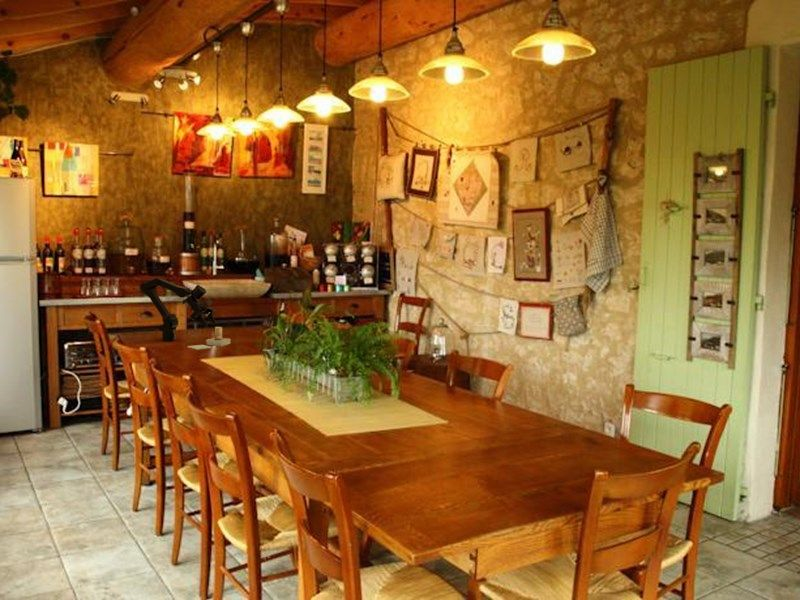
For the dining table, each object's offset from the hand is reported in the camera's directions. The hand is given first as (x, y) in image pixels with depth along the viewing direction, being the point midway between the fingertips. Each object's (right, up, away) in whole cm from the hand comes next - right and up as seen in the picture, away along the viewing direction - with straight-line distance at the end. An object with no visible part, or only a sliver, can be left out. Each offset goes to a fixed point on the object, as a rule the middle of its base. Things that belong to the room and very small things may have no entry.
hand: (211, 324), depth 457 cm
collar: (+4, -12, 0) cm, 12 cm away
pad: (-3, -13, -14) cm, 19 cm away
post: (+4, -12, 0) cm, 12 cm away
